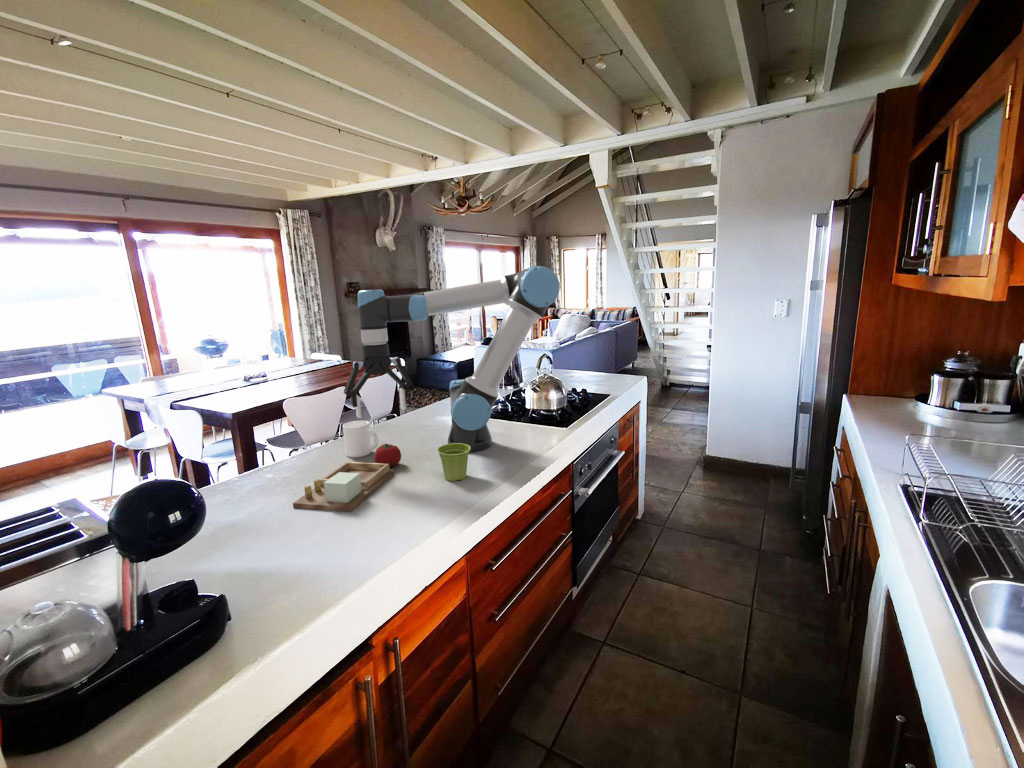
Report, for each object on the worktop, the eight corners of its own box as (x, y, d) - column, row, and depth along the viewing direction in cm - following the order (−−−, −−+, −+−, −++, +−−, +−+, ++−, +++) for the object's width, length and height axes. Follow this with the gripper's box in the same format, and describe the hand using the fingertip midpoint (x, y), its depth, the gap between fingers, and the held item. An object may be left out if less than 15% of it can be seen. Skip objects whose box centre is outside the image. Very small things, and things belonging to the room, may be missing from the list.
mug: (386, 451, 158) (383, 422, 156) (371, 460, 150) (368, 429, 148) (356, 448, 162) (353, 419, 160) (340, 456, 154) (337, 426, 152)
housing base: (394, 474, 138) (392, 460, 137) (351, 511, 115) (349, 495, 114) (344, 471, 141) (343, 458, 140) (293, 507, 118) (291, 492, 117)
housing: (361, 491, 124) (359, 473, 123) (347, 502, 117) (345, 484, 116) (341, 489, 125) (339, 472, 124) (325, 501, 118) (323, 482, 117)
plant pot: (477, 472, 137) (475, 444, 135) (463, 485, 128) (462, 455, 127) (448, 469, 140) (446, 442, 138) (433, 482, 131) (431, 452, 130)
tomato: (405, 465, 145) (404, 442, 144) (383, 472, 139) (381, 449, 138) (391, 459, 150) (389, 437, 149) (369, 466, 145) (367, 444, 143)
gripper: (410, 338, 147) (416, 404, 152) (327, 346, 134) (336, 417, 138) (420, 340, 141) (425, 408, 145) (333, 348, 128) (342, 423, 132)
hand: (381, 413), depth 142 cm, fingers open, 13 cm apart
